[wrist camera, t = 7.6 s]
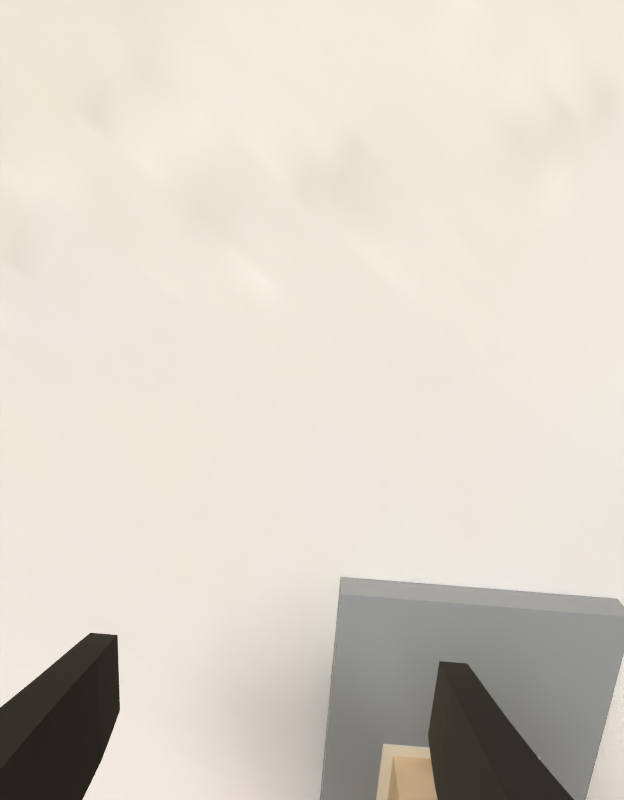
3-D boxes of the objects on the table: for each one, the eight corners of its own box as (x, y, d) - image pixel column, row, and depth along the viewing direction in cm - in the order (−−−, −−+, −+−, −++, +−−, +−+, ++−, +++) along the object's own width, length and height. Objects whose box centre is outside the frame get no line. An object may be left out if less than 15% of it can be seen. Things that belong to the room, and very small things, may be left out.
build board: (617, 598, 22) (634, 618, 21) (549, 870, 26) (560, 901, 25) (340, 577, 22) (341, 595, 21) (315, 850, 26) (314, 879, 25)
